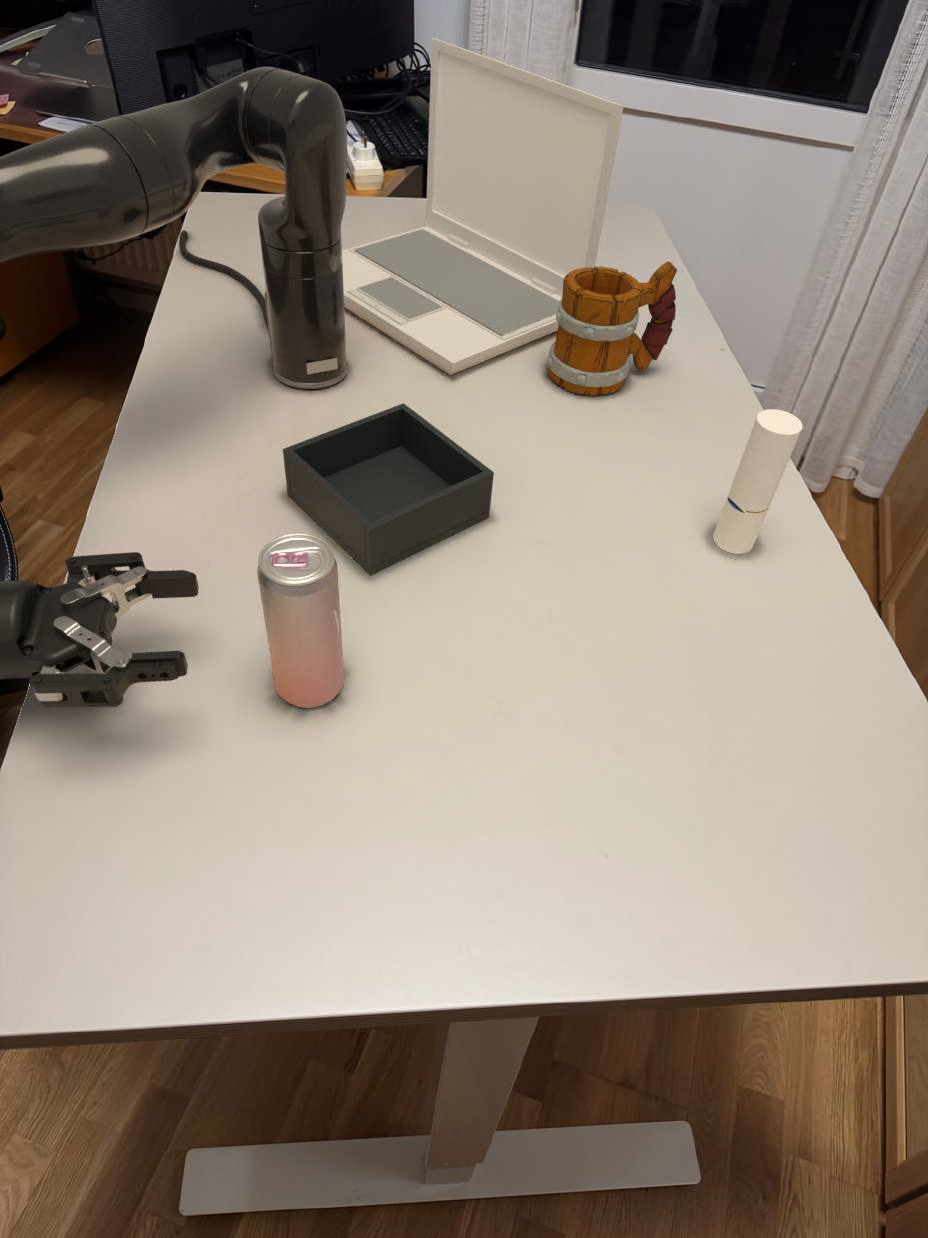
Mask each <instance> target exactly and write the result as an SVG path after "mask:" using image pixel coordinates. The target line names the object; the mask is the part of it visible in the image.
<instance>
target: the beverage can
mask: <svg viewBox="0 0 928 1238" xmlns="http://www.w3.org/2000/svg"><path fill="white" fill-rule="evenodd" d="M338 570H339V569H338V563H337V560H336V557H335V554H334V550H333V547H331V545H330V544H329V543H328V542H327V541H326V540H324V539H322V538H321V537H318V536H316V535H313V534H310V533H309V534H308V533H299V532H297V533H290V534H283V535H280V536H278V537H276V538H274V539H272V540H270V541H268V542H267V544H265V545H264V546H263V547H262V549H261V550H260V552H259V555H258V559H257V568H256V575H257V581H258V587H259V595H260V599H261V607H262V612H263V619H264V625H265V633H266V638H267V643H268V650H269V657H270V662H271V663H270V664H271V670H272V676H273V681H274V682H273V683H274V687H275V691H276V692H277V694H278V695H279V696H280V698H281V699H283V700H284V701H285V702H287V703H289V704H291V706H295V707H299V708H304V709H305V708H306V709H312V708H318V707H321V706H324V705H326V704H328V703H329V702H330V701H332V700H333V699H334V698H335V697H336V696H338V694H339V693H340V691H341V690H342V689H343V686H344V683H345V671H344V670H345V666H344V651H343V650H344V649H343V635H342V619H341V603H340V586H339V585H340V584H339V571H338Z"/></svg>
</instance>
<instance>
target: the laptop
mask: <svg viewBox="0 0 928 1238" xmlns="http://www.w3.org/2000/svg"><path fill="white" fill-rule="evenodd" d="M430 56H431V57H430V82H429V84H430V85H429V112H428V113H429V115H428V141H427V142H428V143H427V144H428V146H427V175H426V179H427V180H426V205H425V207H426V208H425V209H426V210H425V225H424V226H421V227H418V228H414V229H412V230H408V231H404V232H401V233H398V234H394V235H390V236H387V237H384V238H381V239H377V240H373V241H370V242H367V243H364V244H360V245H357V246H352V247H350V248H346V249H342V264H343V289H344V309H346V310H348V311H349V312H351V313H353V314H354V315H356V316H357V317H358V318H361V319H362V320H363V321H364V322H367V324H370V325H371V326H373V327H374V328H376V329H377V330H378V331H381V332H382V333H384V334H385V335H386V336H389V337H390V338H392V339H393V340H395V341H396V342H398V343H399V344H401V345H402V346H404V347H405V348H407V349H409V350H410V351H412V352H413V353H415V354H416V355H418V356H420V357H421V358H422V359H424V360H426V361H427V362H429V363H431V364H432V365H433V366H435V367H437V368H439V369H440V370H442V371H443V372H444V373H446V374H448V375H449V376H452V375H455V374H457V373H459V372H461V371H464V370H466V369H468V368H471V367H473V366H476V365H478V364H481V363H483V362H486V361H488V360H489V359H492V358H495V357H497V356H499V355H502V354H504V353H507V352H510V351H511V350H514V349H517V348H519V347H521V346H524V345H526V344H528V343H531V342H533V341H536V340H538V339H541V338H543V337H545V336H548V335H550V334H553V333H555V332H557V331H558V326H559V323H558V321H557V320H556V314H557V311H558V305H559V301H560V300H561V299H562V297H563V280H564V278H565V276H566V275H567V274H568V273H570V272H571V271H573V270H576V269H581V268H588V267H591V268H592V269H593V268H594V267H596V262H597V257H598V253H599V248H600V247H599V246H600V240H601V236H602V235H601V234H602V229H603V224H604V218H605V213H606V207H607V202H608V197H609V196H608V195H609V190H610V186H611V185H610V184H611V179H612V174H613V168H614V163H615V158H616V151H617V146H618V142H619V141H618V140H619V135H620V129H621V124H622V118H623V112H624V108H625V107H624V105H623V104H620V103H617V102H614V101H611V100H609V99H606V98H603V97H601V96H597V95H595V94H592V93H589V92H586V91H583V90H582V89H579V88H575V87H572V86H570V85H567V84H564V83H561V82H558V81H555V80H553V79H550V78H547V77H544V76H543V75H539V74H535V73H534V72H531V71H527V70H525V69H522V68H519V67H517V66H513V65H510V64H508V63H505V62H502V61H500V60H497V59H494V58H491V57H490V56H489V57H488V56H486V55H483V54H480V53H477V52H474V51H472V50H470V49H466V48H463V47H460V46H458V45H455V44H452V43H450V42H448V41H447V42H446V41H443V40H441V39H438V38H435V37H431V51H430Z"/></svg>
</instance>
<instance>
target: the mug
mask: <svg viewBox="0 0 928 1238" xmlns="http://www.w3.org/2000/svg"><path fill="white" fill-rule="evenodd" d="M677 272H678V269H677V268H676V266H675V265H674V264H673V263H672V262H671V261H666V262H664V263H663V264H661V265H660V266H659V267H658V268H657V269H656V270H655V271H654V272H653V273H652V275H651V276H650V278H649V280H648V281H647V282H640V281H639V280H638V279H637V278H635V277H634V276H632V275H630V274H629V273H627V272H625V271H619V270H618V269H617V268H613V267H606V266H595V267H594V268H593V269H592V268H591V267H588V268H581V269H576V270H573V271H571V272H570V273H568V274H567V275H566V276H565V278H564V280H563V297H562V299H561V300H560V301H559V305H558V311H557V314H556V320H557V321H558V323H559V326H558V330H557V331H556V336H555V340H554V341H553V343H552V344H551V345H550V348H549V352H548V357H547V362H546V363H547V366H548V368H547V369H548V370H547V375H548V376H549V378H550V379H551V380H552V381H553V382H554V383H555V384H556V385H557V386H558V387H561V389H563V390H564V389H565V391H568V392H569V393H572V394H577V395H581V396H583V395H586V396H590V397H596V396H598V395H600V396H605V395H609V394H614V393H615V392H618V391H619V390H620V389H621V388H623V386H624V385H625V382H626V380H627V379H626V378H627V377H628V375H629V372H630V368H631V361H632V362H633V366H634V368H635V369H636V370H638V371H646V370H647V369H648V368H649V366H650V365H651V363H652V361H658V358H659V357H660V355H661V353H662V351H663V349H664V346H666V345H667V344H668V341H669V338H670V336H671V334H672V333H673V328H672V326H673V323H674V321H675V320H676V310H677V308H676V307H677V306H676V302H675V301H676V300H677V296H676V294H677V293H676V289H675V285H674V284H673V281H674V278H675V276H676V274H677ZM646 305H647V307H648V311H649V315H650V316H651V318H650V321H648V322H647V323H646V326H645V329H644V331H643V333H642V335H641V337H639V335H638V333H636V330H637V328H638V327H637V326H638V323H639V318H640V312H639V308H641V307H644V306H646ZM631 356H632V360H631Z"/></svg>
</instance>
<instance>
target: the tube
mask: <svg viewBox="0 0 928 1238" xmlns="http://www.w3.org/2000/svg"><path fill="white" fill-rule="evenodd" d="M756 415H757V416H756V418H755V421H754V422H753V426H752V429H751V432H750V433H749V436H748V440H747V442H746V446H745V448H744V451H743V453H742V456H741V459H740V461H739V464H738V467H737V470H736V473H735V475H734V477H733V480H732V483H731V486H730V489H729V491H728V494H727V497H726V499H725V502H724V505H723V508H722V511H721V513H720V516H719V519H718V522H717V524H716V526H715V530H714V532H713V535H712V538H713V542H714V543H715V545H716V546H717V547H718V548H719V549H721V550H723V551H724V552H727V553H729V554H733V555H743V554H747V553H749V552H751V551H752V549H753V547H754V546H755V543H756V540H757V538H758V535H759V533H760V531H761V528H762V526H763V523H764V521H765V519H766V516H767V514H768V511H769V508H770V507H771V505H772V502H773V499H774V497H775V495H776V493H777V490H778V487H779V485H780V482H781V480H782V478H783V475H784V474H785V471H786V469H787V466H788V464H789V461H790V458H791V456H792V454H793V451H794V449H795V446H796V444H797V442H798V439H799V437H800V434H801V432H802V430H803V422H802V421H801V420H800V419H799V418H798V417H797V416H795V415H794V414H792V413H790V412H789V411H786V410H781V409H775V408H770V409H769V408H768V409H763V410H761V411H760V412H758V413H757V414H756Z"/></svg>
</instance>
